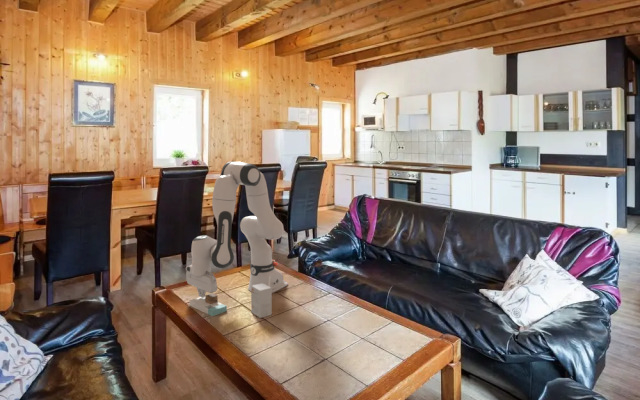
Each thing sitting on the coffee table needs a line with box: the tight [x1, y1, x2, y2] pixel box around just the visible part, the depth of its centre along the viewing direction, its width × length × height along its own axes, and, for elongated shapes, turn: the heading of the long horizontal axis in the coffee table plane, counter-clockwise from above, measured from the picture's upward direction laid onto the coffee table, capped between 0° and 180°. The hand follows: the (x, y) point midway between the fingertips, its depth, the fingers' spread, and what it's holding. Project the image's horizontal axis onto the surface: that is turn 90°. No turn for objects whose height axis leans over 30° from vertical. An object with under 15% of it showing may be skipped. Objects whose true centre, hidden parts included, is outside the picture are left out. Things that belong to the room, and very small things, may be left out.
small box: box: [250, 283, 273, 319], centre depth 189 cm, size 8×6×13 cm
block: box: [205, 292, 219, 304], centre depth 195 cm, size 4×4×3 cm
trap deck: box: [188, 296, 228, 317], centre depth 194 cm, size 8×18×2 cm, turn 50°
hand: (201, 296), depth 200 cm, fingers closed
